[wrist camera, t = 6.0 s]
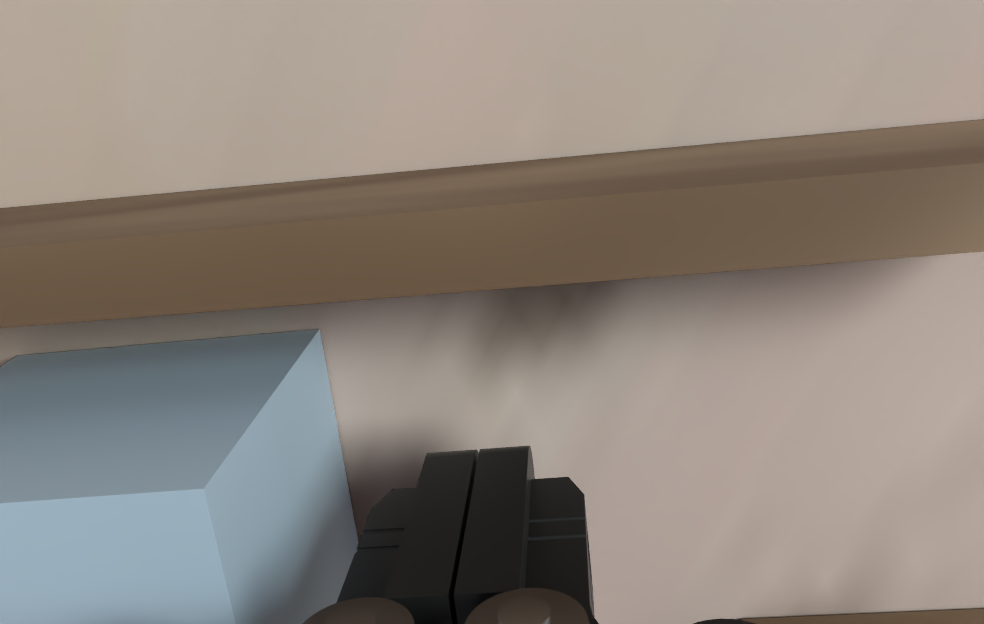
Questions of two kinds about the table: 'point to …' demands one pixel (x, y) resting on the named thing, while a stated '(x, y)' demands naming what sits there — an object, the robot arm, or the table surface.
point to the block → (172, 484)
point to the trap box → (507, 233)
